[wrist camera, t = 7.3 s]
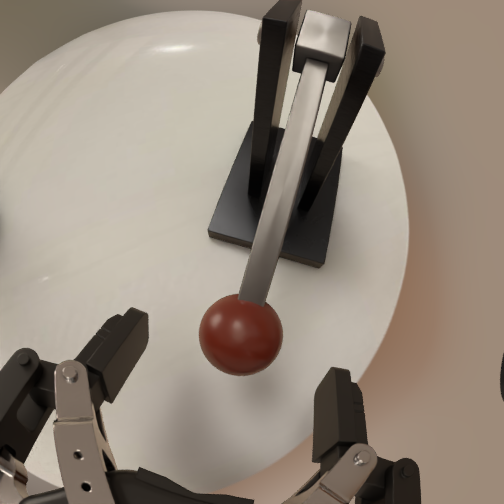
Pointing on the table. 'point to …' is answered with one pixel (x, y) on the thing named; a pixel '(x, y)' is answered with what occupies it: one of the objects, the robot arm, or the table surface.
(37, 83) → the table surface
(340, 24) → the lever
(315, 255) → the bracket
